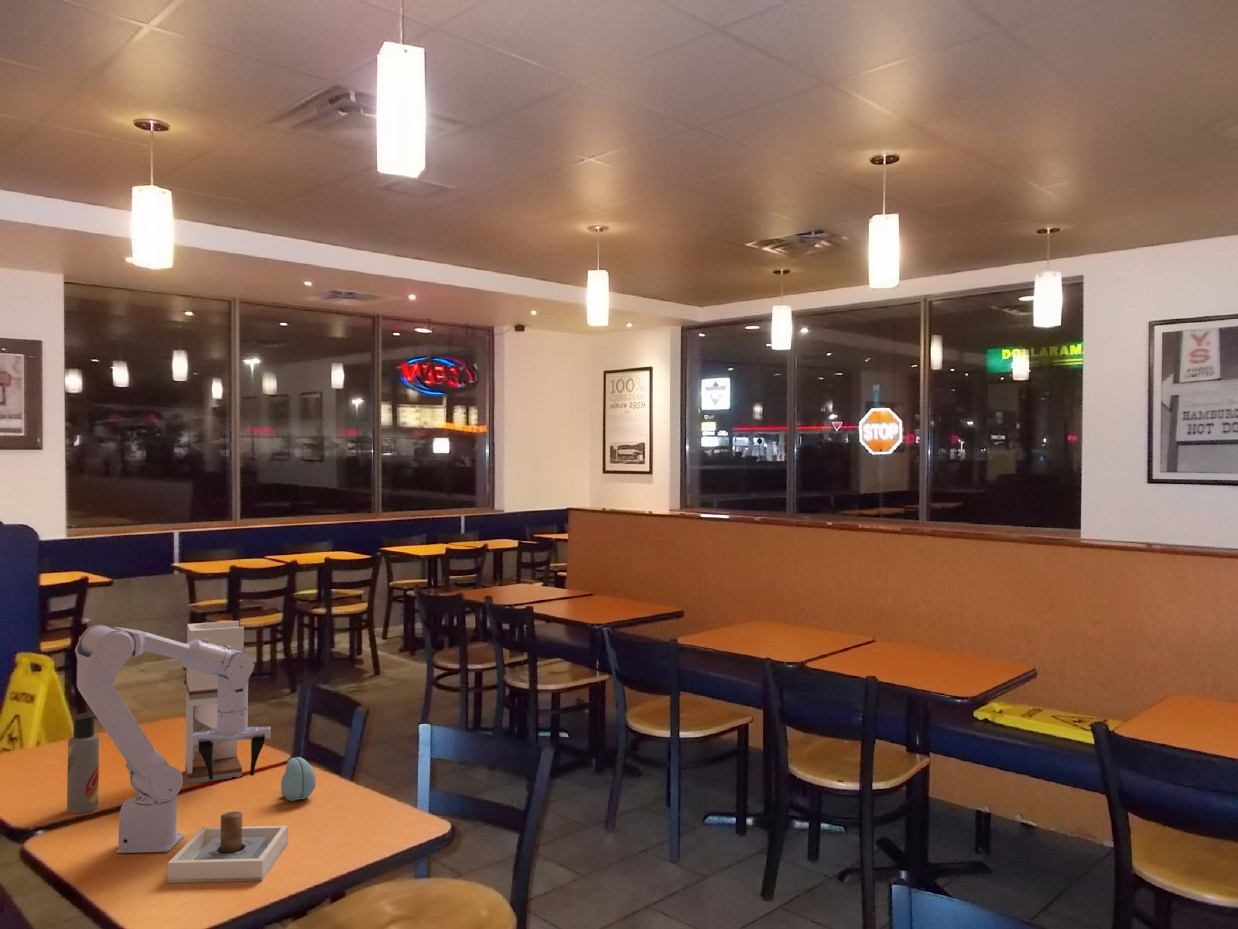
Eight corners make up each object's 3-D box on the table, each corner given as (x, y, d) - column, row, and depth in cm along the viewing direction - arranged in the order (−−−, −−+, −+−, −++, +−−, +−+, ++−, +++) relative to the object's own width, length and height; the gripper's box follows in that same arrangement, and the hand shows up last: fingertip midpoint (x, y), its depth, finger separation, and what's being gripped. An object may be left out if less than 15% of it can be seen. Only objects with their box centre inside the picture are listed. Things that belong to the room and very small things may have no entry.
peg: (217, 863, 165) (217, 819, 165) (224, 855, 169) (224, 811, 169) (237, 863, 165) (238, 818, 165) (244, 854, 169) (244, 811, 169)
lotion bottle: (104, 805, 195) (105, 711, 195) (86, 815, 190) (87, 718, 190) (79, 804, 196) (80, 710, 196) (60, 813, 190) (62, 717, 190)
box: (167, 883, 158) (167, 863, 158) (202, 846, 174) (202, 827, 174) (262, 880, 160) (262, 860, 160) (287, 844, 176) (288, 825, 176)
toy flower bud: (301, 749, 209) (319, 758, 199) (301, 789, 208) (320, 800, 199) (269, 755, 204) (286, 764, 195) (269, 795, 204) (287, 807, 194)
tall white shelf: (188, 784, 209) (190, 630, 209) (185, 771, 218) (187, 624, 218) (241, 776, 214) (244, 627, 215) (236, 764, 223) (238, 620, 224)
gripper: (191, 717, 180) (190, 786, 180) (270, 711, 185) (269, 778, 185) (195, 708, 187) (194, 775, 186) (271, 702, 191) (270, 767, 191)
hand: (231, 776), depth 186 cm, fingers open, 7 cm apart
